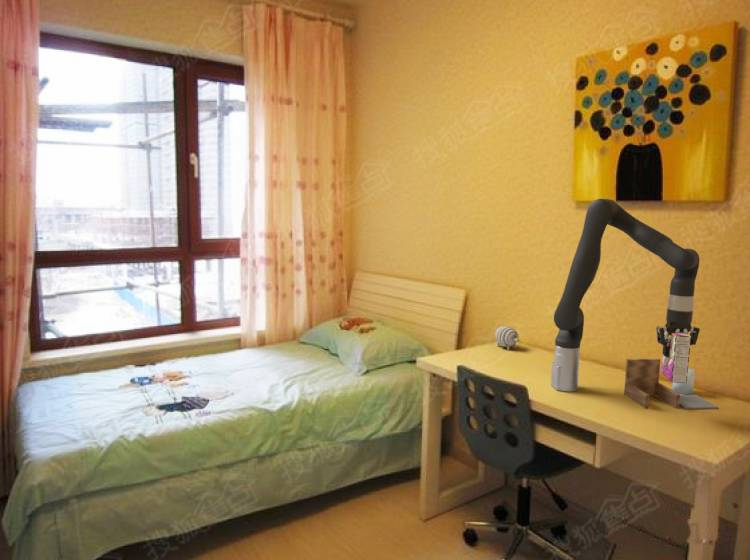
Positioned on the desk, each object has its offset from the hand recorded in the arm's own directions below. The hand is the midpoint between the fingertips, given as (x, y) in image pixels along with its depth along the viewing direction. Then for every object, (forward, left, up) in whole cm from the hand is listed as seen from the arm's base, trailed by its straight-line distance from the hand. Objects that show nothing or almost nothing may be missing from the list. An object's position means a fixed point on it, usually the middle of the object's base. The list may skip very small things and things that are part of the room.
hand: (675, 356), depth 175 cm
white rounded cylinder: (+18, +21, -21) cm, 35 cm away
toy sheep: (-32, +85, -21) cm, 93 cm away
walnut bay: (0, +11, -21) cm, 24 cm away
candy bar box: (0, 0, -8) cm, 8 cm away
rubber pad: (+14, +10, -21) cm, 27 cm away
